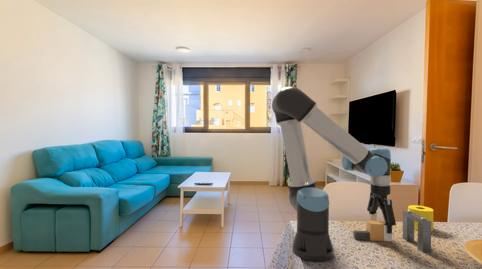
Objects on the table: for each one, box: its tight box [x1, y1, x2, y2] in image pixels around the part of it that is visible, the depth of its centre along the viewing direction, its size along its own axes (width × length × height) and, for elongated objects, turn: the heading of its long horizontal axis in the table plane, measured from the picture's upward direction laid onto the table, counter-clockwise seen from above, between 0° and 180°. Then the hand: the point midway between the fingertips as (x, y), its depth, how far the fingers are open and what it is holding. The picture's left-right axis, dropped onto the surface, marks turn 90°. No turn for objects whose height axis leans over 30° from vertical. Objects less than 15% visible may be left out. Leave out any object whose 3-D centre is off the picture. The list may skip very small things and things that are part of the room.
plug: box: [352, 220, 386, 242], centre depth 109 cm, size 14×4×7 cm, turn 87°
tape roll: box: [407, 204, 434, 232], centre depth 122 cm, size 10×10×9 cm
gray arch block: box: [402, 209, 432, 254], centre depth 103 cm, size 3×13×12 cm, turn 177°
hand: (380, 234), depth 109 cm, fingers open, 12 cm apart
